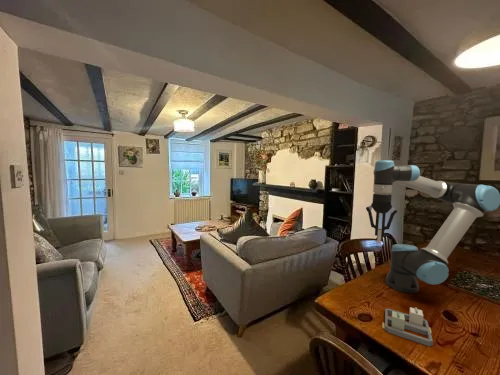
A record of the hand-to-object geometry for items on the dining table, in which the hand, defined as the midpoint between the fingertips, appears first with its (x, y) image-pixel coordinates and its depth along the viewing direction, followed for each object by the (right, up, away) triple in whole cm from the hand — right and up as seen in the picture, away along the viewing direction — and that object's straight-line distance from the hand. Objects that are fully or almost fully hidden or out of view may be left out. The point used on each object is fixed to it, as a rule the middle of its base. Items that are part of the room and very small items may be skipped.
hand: (378, 242), depth 106 cm
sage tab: (-3, -30, -18) cm, 35 cm away
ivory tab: (+6, -30, -16) cm, 34 cm away
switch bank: (+1, -31, -17) cm, 35 cm away
